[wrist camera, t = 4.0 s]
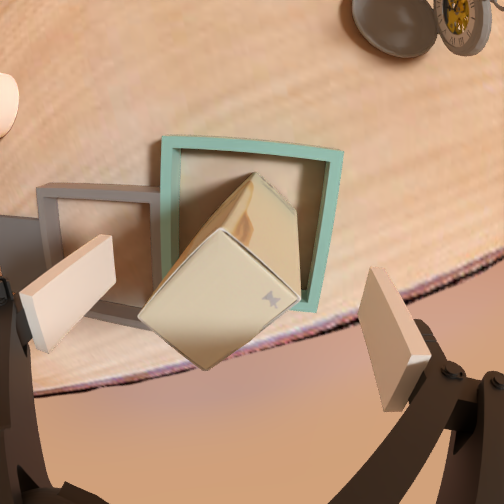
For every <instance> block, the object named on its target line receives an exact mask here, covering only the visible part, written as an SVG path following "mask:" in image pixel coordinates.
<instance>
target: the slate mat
mask: <svg viewBox="0 0 504 504" xmlns="http://www.w3.org/2000/svg"><path fill="white" fill-rule="evenodd" d="M0 267H1V271H2V276H3V277H7V278H8V279H9V282H10V286H11V290H12V292H14V293H17V292H18V291H20V290H21V289H22V288H23V287H25V286H26V285H27V284H29V283H30V282H31V281H33V280H34V279H35V278H37V277H38V276H39V275H41V274H43V273H45V272H47V267H46V262H45V256H44V250H43V244H42V237H41V230H40V222H39V218H29V217H18V216H7V215H0Z"/></svg>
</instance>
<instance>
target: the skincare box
mask: <svg viewBox="0 0 504 504" xmlns="http://www.w3.org/2000/svg"><path fill="white" fill-rule="evenodd" d="M300 300H301V281H300V260H299V243H298V225H297V211H296V209H295V208H294V207H293V206H292V205H291V204H290V203H289V202H288V201H287V200H286V199H285V198H284V197H283V196H282V195H281V194H280V193H279V192H278V191H277V190H276V189H275V188H274V187H273V186H272V185H271V184H270V183H269V182H268V181H267V180H265V179H264V178H263V177H262V176H261V175H260V174H259V173H257V172H254V173H253V174H252V175H251V176H249V177H248V178H247V179H246V180H245V181H244V182H243V183H242V184H241V185H240V186H239V187H238V188H237V189H236V190H235V191H234V192H233V193H232V194H231V195H230V196H229V197H228V198H227V199H226V200H225V201H224V202H223V203H222V205H221V206H220V207H219V208H218V209H217V210H216V211H215V212H214V214H213V215H212V216H211V217H210V218H209V219H208V221H207V222H206V223H205V224H204V225H203V226H202V228H201V229H200V230H199V232H198V233H197V234H196V235H195V237H194V238H193V239H192V241H191V242H190V244H189V245H188V246H187V248H186V249H185V250H184V252H183V253H182V254H181V256H180V257H179V258H178V260H177V261H176V262H175V264H174V265H173V266H172V268H171V269H170V271H169V272H168V273H167V275H166V276H165V277H164V279H163V280H162V282H161V283H160V284H159V286H158V287H157V289H156V290H155V291H154V293H153V294H152V295H151V297H150V298H149V300H148V301H147V302H146V304H145V305H144V307H143V308H142V310H141V311H140V312H139V314H138V319H140V320H141V321H142V322H143V323H144V324H145V325H147V326H148V327H149V328H150V329H151V330H152V331H153V332H155V333H156V334H157V335H158V336H159V337H160V338H162V339H163V340H164V341H165V342H166V343H168V344H169V345H170V346H171V347H173V348H174V349H175V350H176V351H178V352H179V353H180V354H181V355H183V356H184V357H185V358H186V359H188V360H189V361H190V362H192V363H193V364H194V365H196V366H197V367H198V368H200V369H201V370H203V371H208V370H210V369H211V368H213V367H214V366H215V365H217V364H218V363H220V362H221V361H223V360H224V359H225V358H227V357H228V356H229V355H231V354H232V353H234V352H235V351H236V350H238V349H239V348H241V347H242V346H244V345H245V344H246V343H248V342H249V341H251V340H252V339H253V338H254V337H255V336H256V335H258V334H259V333H260V332H261V331H262V330H264V329H265V328H266V327H268V326H269V325H270V324H272V323H273V322H274V321H275V320H277V319H278V318H279V317H280V316H282V315H283V314H284V313H286V312H287V311H288V310H289V309H291V308H292V307H293V306H294V305H296V304H297V303H298V302H299V301H300Z"/></svg>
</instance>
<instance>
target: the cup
mask: <svg viewBox="0 0 504 504" xmlns="http://www.w3.org/2000/svg"><path fill="white" fill-rule="evenodd" d="M18 105H19V92H18V87H17V84H16V82H15V80H14V78H13V77H12V76H10V75H8V74H4V73H0V138H1V137H3V136H4V135H5V134H6V133H7V132H8V131H9V130H10V128H11V127H12V125H13V123H14V121H15V118H16V115H17V111H18Z"/></svg>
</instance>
